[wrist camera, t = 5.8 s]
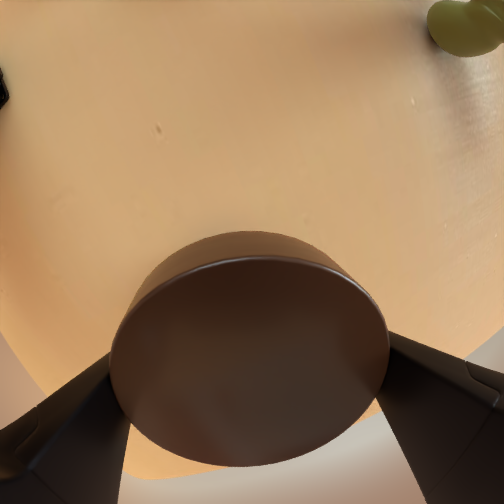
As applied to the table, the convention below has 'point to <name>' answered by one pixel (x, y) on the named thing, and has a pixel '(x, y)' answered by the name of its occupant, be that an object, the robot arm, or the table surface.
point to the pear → (467, 26)
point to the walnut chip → (248, 351)
